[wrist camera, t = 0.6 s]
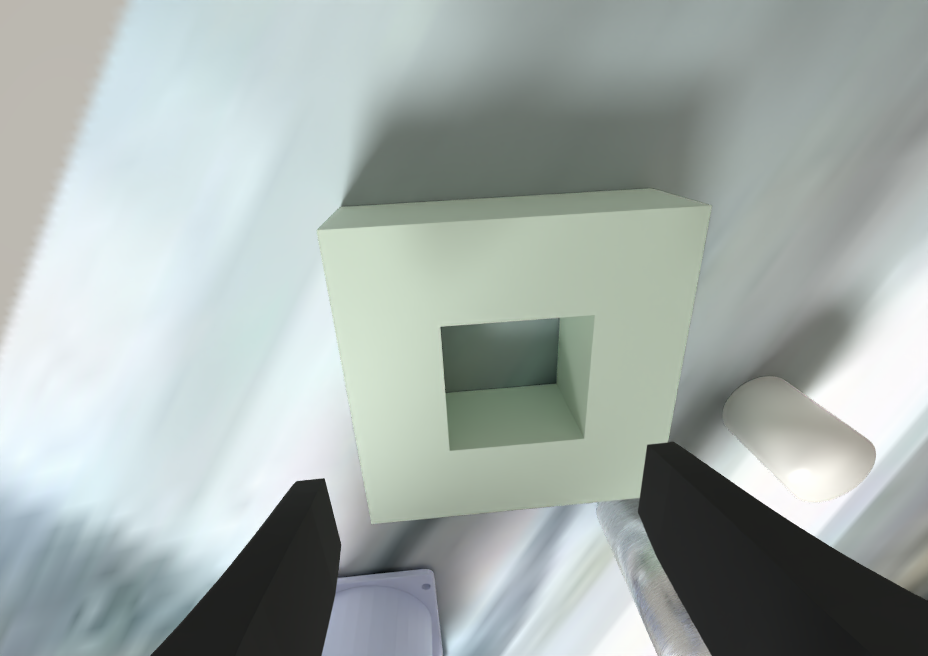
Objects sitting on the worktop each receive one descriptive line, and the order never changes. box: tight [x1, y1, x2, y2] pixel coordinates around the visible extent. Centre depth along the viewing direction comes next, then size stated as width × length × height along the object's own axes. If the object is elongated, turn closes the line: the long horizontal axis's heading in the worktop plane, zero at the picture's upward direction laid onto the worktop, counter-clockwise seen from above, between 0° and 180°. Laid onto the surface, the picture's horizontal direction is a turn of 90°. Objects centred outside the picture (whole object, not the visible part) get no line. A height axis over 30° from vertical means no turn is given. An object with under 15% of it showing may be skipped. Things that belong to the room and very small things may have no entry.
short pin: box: [722, 376, 876, 503], centre depth 20 cm, size 4×4×4 cm
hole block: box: [317, 188, 712, 524], centre depth 18 cm, size 12×12×4 cm
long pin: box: [596, 498, 711, 656], centre depth 21 cm, size 4×4×8 cm
